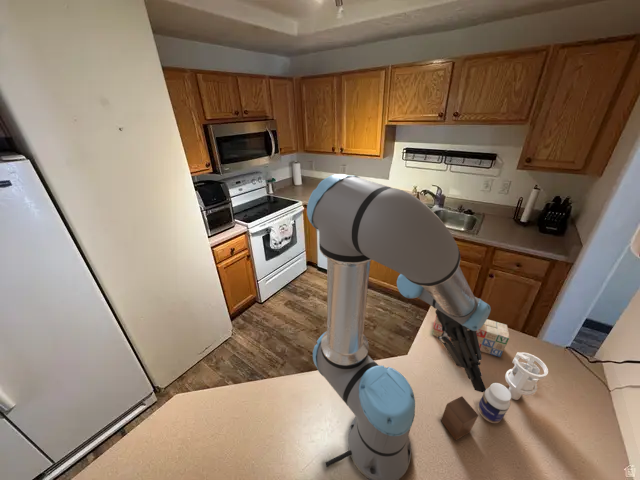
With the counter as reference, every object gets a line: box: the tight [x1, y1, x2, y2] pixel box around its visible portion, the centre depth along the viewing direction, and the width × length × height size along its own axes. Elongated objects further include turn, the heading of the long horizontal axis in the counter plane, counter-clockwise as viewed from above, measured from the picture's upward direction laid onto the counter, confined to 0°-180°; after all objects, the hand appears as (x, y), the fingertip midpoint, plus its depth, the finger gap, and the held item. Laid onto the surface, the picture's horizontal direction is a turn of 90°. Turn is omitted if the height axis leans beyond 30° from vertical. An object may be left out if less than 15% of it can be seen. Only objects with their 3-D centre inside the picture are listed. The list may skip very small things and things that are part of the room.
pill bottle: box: [477, 382, 512, 424], centre depth 68 cm, size 6×6×10 cm
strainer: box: [504, 351, 549, 401], centre depth 71 cm, size 7×7×15 cm
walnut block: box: [440, 396, 479, 441], centre depth 66 cm, size 5×5×8 cm
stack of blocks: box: [431, 314, 510, 358], centre depth 89 cm, size 21×6×12 cm, turn 63°
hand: (480, 390), depth 72 cm, fingers closed
